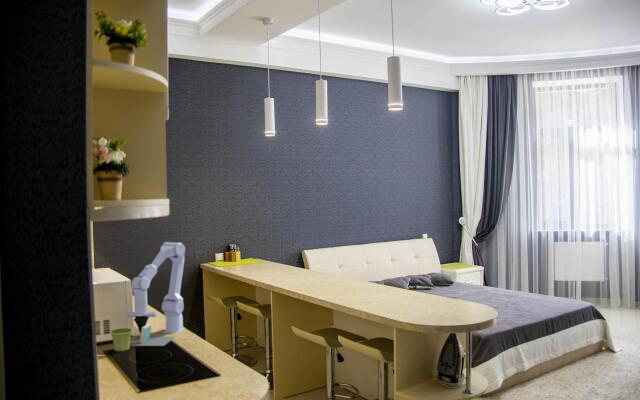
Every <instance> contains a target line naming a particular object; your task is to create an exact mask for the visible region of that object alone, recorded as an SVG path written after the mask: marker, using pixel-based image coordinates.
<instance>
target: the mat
mask: <svg viewBox="0 0 640 400" xmlns="http://www.w3.org/2000/svg"><path fill="white" fill-rule="evenodd" d="M175 338H176V337H175V336H150V338H149V339H148V340H147V341H146V342H144V343H140V338H138V339H137V340H136V341H134V342H132V344H131V343H130V346H133V347H135V346H136V347H139V346H140V347H148V346H149V347H153V346H155V347H159V346H160V347H165V345H167V344H168V343H170V342H171V341H172V340H174V339H175Z"/></svg>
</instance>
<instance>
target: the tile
mask: <svg viewBox="0 0 640 400" xmlns="http://www.w3.org/2000/svg"><path fill="white" fill-rule="evenodd" d="M151 331H152V323H151V324H150V323H146V325H145V326H144V327H142V330H141V333H140V336H141V337H139V339H140V343H144V342H146V341H147V340H148V339H149V338H150V337H151Z"/></svg>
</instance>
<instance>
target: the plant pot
mask: <svg viewBox="0 0 640 400" xmlns="http://www.w3.org/2000/svg"><path fill="white" fill-rule="evenodd" d="M133 330H134V329H133V328H132V327H131V328H130V327H122V328H121V327H119V328H116V329H113V330H111V331H110V332H109V334H111V338H112V343H113V348H114V352H123V351H124V352H125V351H127V350H130V345H131V338H132V337H131V336H132V333H133Z"/></svg>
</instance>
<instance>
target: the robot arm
mask: <svg viewBox="0 0 640 400" xmlns="http://www.w3.org/2000/svg"><path fill="white" fill-rule="evenodd" d="M185 252H186V247H185V245H184V244H183V243H182V242H172V241H171V242H169V241H164V242H163V244H162V245H161V246H160V250H159V252H158V253H157V255H156V256H155V258H154V259H153V261H152V262H151V264H147V265H145V266H144V268H143V270H142V271H141V272H140V273H138V276H136V277H133V279H132V281H131V283H130V288H131V289H132V292H133V297H134V298H133V299H134V300H133V301H134V302H133V303H134V311H129V312H128V311H127V312H125V313H124V316H125V318H134V319H133V321H134V322H135V324H136V327H137V329H138V332H139V334H141V330H142V327H144V326H145V325H147V324H148V320H149V318H157V317H158V312H156V311H149V310H148V289H149V288H150V286H151V285H150V284H151V282H152V279H153V278H154V277H155V276H156V275H157V273H158V268H159V267H160V266H161V265H162V264H163V263H164V262H165V261H166V260H167V258H169V259H170V260H171V261H172V264H171V265H172V266H171V272H170V273H171V274H170V281H169V287H168V293H167V294H166V295H165V296H164V298H163V301H162V303H161V310H162V312H164V315H165V317H164V318H165V330H164V331H162V334H179V333H180V332H182V331H183V329H184V328H185V327H184V321H183V320H184V317H183V314H182V313H183V311H184V310H185V309H184V308H185V305H184V298H183V297H182V295H181V288H182V280H183V279H182V278H183V273H184V265H185V259H186V258H185ZM182 327H183V328H182ZM184 330H185V329H184Z"/></svg>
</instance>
